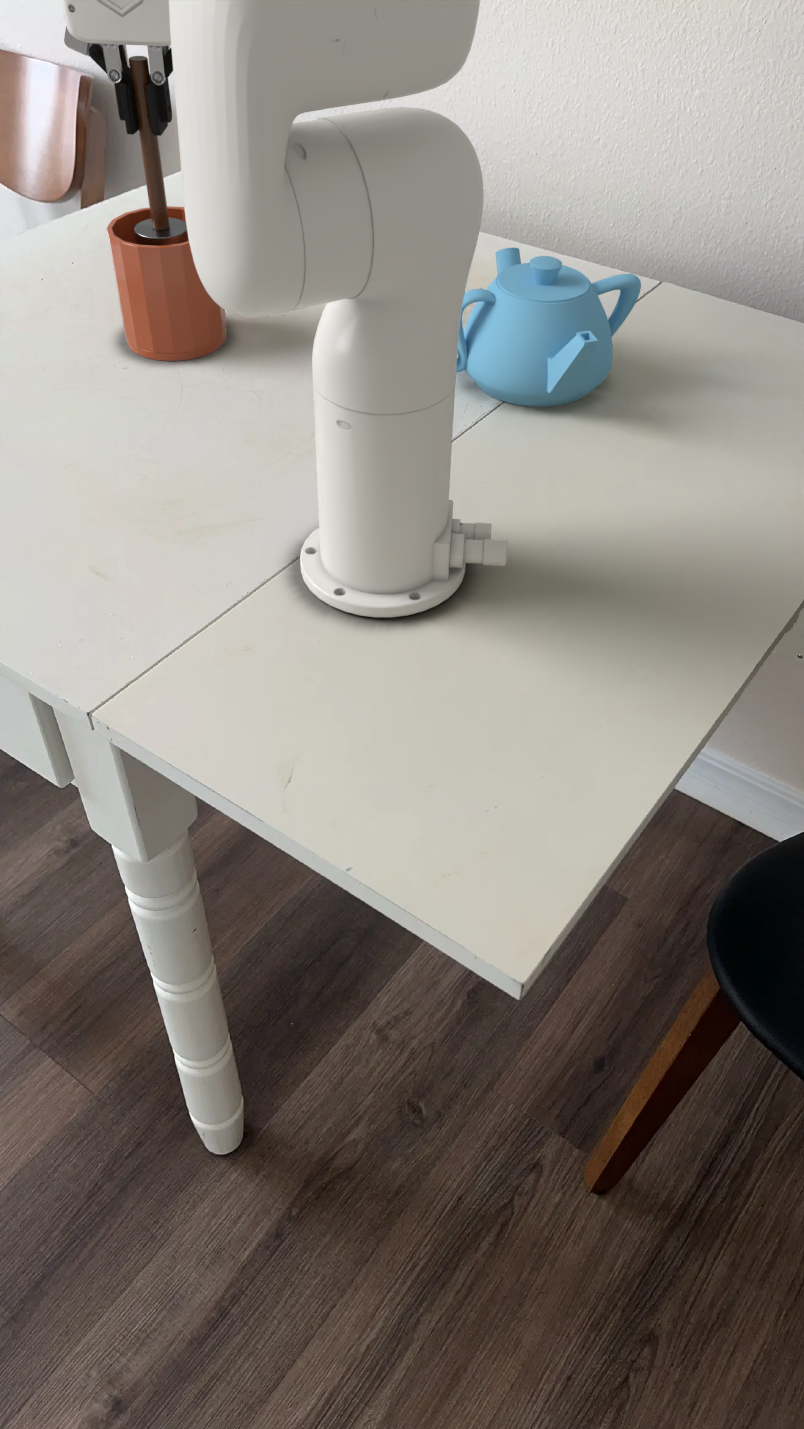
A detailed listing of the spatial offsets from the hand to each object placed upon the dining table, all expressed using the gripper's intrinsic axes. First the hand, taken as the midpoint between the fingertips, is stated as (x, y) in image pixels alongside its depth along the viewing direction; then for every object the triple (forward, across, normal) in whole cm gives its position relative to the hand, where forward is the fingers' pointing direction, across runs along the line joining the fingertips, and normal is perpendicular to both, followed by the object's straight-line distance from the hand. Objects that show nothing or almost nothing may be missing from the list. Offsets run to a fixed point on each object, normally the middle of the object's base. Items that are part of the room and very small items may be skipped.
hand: (147, 128), depth 95 cm
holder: (+19, 0, 0) cm, 19 cm away
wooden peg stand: (+11, 0, 0) cm, 11 cm away
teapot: (+19, +36, -4) cm, 41 cm away
